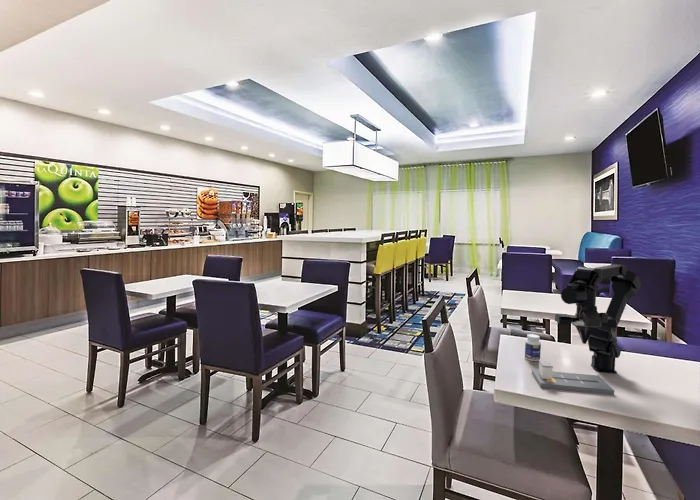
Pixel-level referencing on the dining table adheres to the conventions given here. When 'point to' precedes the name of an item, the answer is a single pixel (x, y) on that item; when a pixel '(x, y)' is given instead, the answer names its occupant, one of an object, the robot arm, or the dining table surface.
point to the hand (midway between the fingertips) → (584, 343)
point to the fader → (545, 369)
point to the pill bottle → (532, 347)
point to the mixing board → (574, 382)
